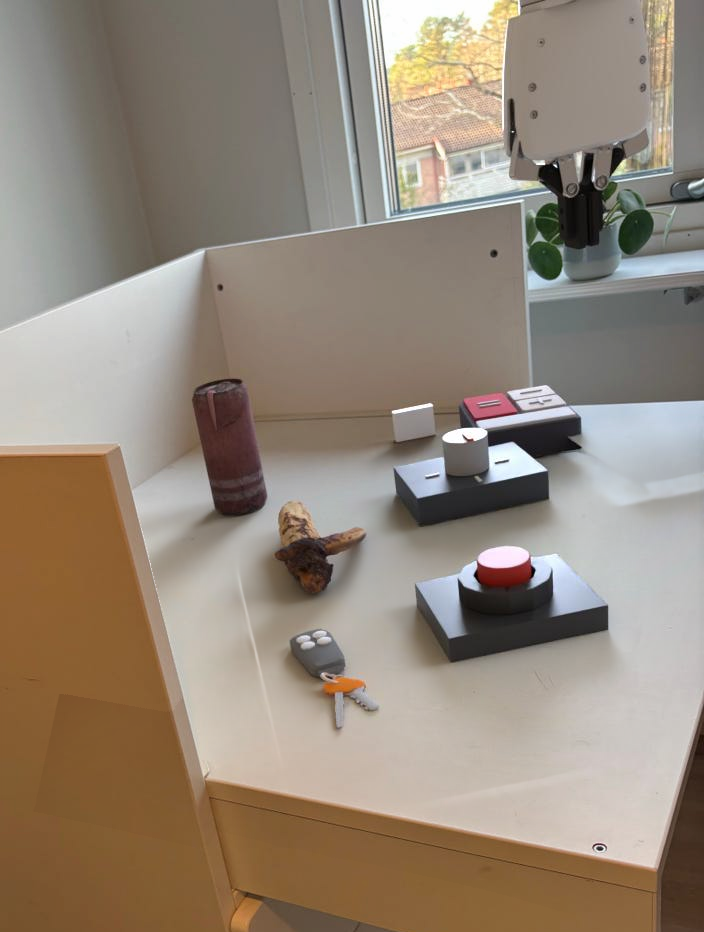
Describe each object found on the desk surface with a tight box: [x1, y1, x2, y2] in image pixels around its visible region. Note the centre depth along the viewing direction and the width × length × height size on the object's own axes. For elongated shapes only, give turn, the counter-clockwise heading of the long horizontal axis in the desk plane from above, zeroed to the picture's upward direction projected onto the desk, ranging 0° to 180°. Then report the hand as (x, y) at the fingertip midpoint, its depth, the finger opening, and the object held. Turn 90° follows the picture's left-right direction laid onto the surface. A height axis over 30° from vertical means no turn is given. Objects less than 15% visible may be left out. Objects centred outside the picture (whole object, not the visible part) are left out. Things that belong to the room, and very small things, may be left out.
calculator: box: [458, 385, 583, 458], centre depth 110 cm, size 11×4×15 cm
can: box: [191, 377, 268, 517], centre depth 106 cm, size 6×6×14 cm
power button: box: [476, 545, 532, 587], centre depth 74 cm, size 4×4×2 cm
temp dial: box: [441, 428, 489, 476], centre depth 97 cm, size 4×4×4 cm
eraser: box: [391, 402, 437, 443], centre depth 118 cm, size 1×5×4 cm, turn 91°
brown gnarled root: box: [274, 500, 367, 594], centre depth 92 cm, size 9×5×18 cm
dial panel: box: [392, 442, 550, 527], centre depth 98 cm, size 13×10×3 cm
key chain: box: [289, 628, 380, 729], centre depth 73 cm, size 13×4×2 cm, turn 13°
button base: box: [414, 552, 609, 664], centre depth 75 cm, size 12×10×4 cm
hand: (581, 245), depth 78 cm, fingers closed
